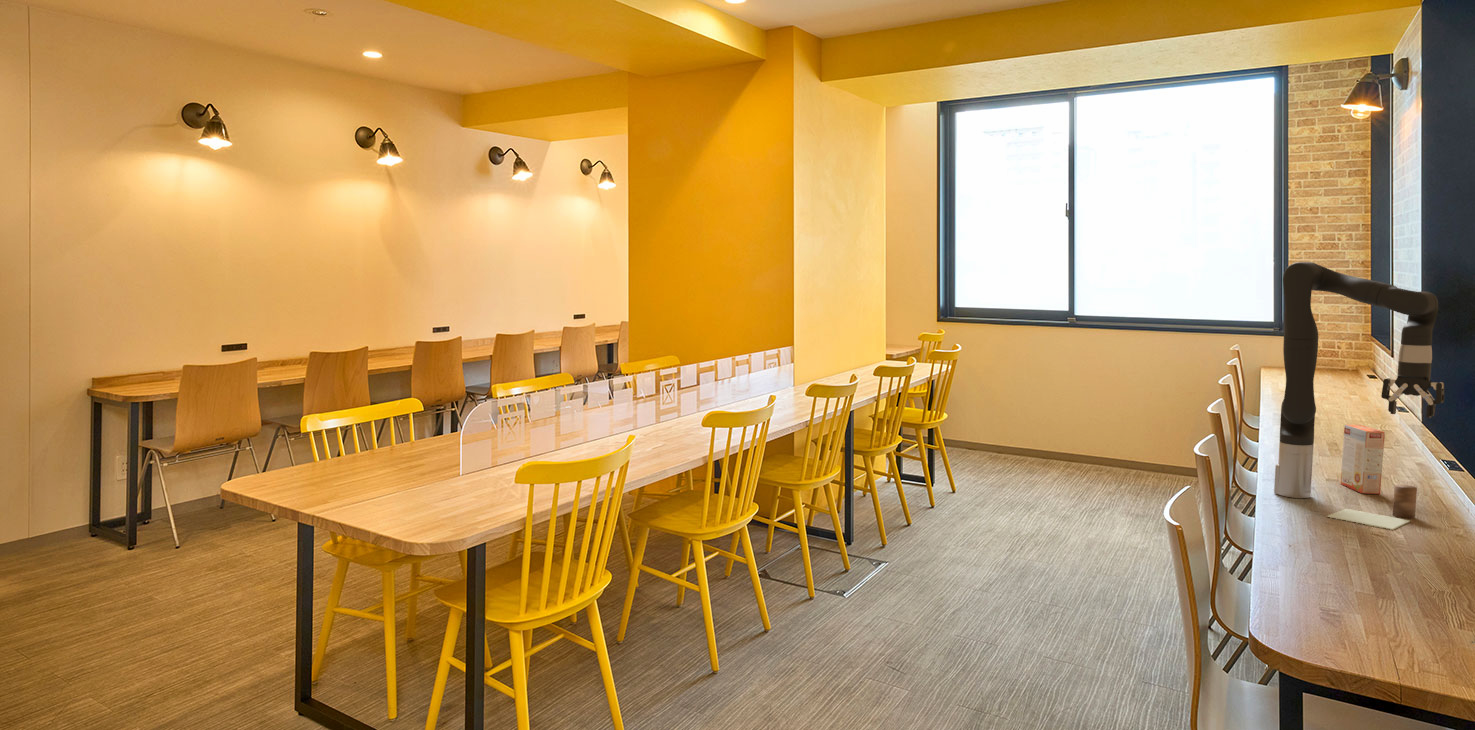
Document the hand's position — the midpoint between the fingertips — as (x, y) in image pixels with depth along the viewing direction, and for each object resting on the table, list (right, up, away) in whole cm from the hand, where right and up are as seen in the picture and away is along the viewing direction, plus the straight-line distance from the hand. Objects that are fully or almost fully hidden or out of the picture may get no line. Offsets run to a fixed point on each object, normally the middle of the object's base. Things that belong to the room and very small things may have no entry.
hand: (1410, 415), depth 247 cm
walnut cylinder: (0, -30, +3) cm, 30 cm away
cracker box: (+11, -27, +35) cm, 46 cm away
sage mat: (-12, -30, 0) cm, 33 cm away
